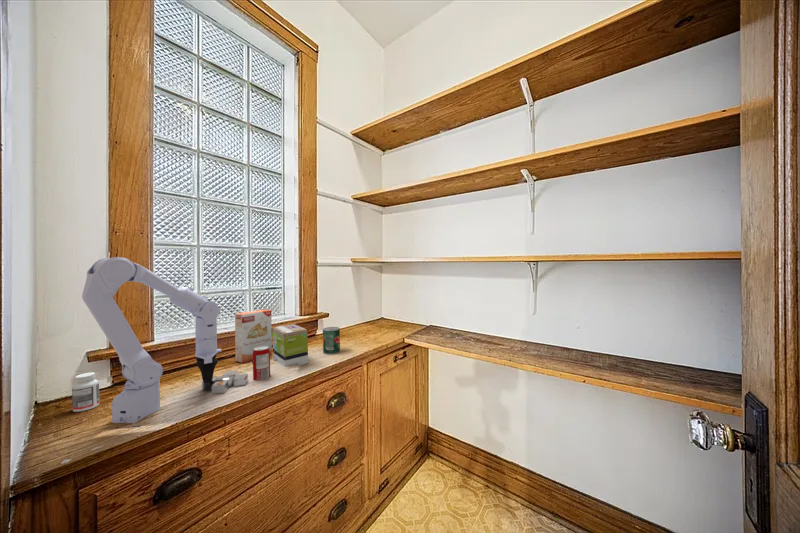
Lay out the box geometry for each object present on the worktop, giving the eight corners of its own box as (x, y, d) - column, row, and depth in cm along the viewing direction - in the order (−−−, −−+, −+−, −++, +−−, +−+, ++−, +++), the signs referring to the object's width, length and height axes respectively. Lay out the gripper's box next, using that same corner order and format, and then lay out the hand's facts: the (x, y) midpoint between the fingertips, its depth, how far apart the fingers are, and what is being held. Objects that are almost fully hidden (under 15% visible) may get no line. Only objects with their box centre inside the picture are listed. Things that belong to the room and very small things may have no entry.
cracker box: (242, 363, 119) (241, 314, 119) (234, 361, 123) (233, 313, 123) (272, 354, 131) (271, 309, 131) (264, 352, 134) (264, 308, 134)
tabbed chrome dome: (251, 376, 102) (251, 368, 102) (240, 390, 90) (240, 382, 90) (212, 379, 99) (212, 372, 99) (195, 395, 87) (195, 387, 87)
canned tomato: (321, 350, 136) (321, 327, 136) (338, 348, 139) (337, 326, 139) (324, 355, 129) (324, 331, 129) (341, 352, 132) (341, 329, 132)
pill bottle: (85, 403, 86) (84, 371, 86) (104, 402, 86) (104, 370, 86) (66, 413, 80) (65, 378, 80) (87, 411, 81) (86, 377, 81)
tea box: (272, 360, 123) (271, 326, 123) (295, 355, 129) (294, 323, 129) (284, 370, 111) (283, 332, 111) (309, 363, 118) (308, 328, 118)
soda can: (261, 376, 105) (261, 344, 105) (273, 378, 103) (273, 345, 103) (249, 382, 99) (248, 348, 99) (262, 384, 98) (261, 349, 98)
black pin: (207, 390, 89) (206, 364, 89) (201, 389, 90) (200, 364, 90) (214, 387, 91) (213, 362, 91) (208, 386, 92) (208, 361, 92)
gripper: (223, 340, 88) (224, 383, 88) (218, 332, 100) (219, 370, 100) (195, 344, 84) (196, 390, 84) (194, 335, 95) (194, 375, 95)
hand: (207, 379), depth 91 cm, fingers open, 4 cm apart
